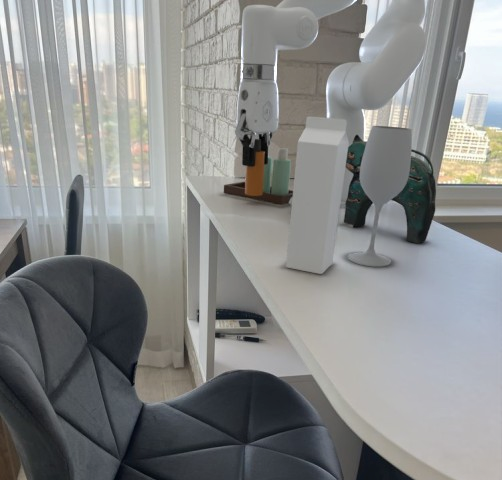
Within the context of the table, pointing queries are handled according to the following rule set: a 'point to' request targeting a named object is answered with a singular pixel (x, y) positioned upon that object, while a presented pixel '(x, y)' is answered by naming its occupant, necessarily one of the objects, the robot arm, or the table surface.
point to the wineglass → (383, 178)
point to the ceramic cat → (411, 197)
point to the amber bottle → (255, 173)
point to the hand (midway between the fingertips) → (255, 163)
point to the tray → (239, 190)
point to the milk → (317, 194)
